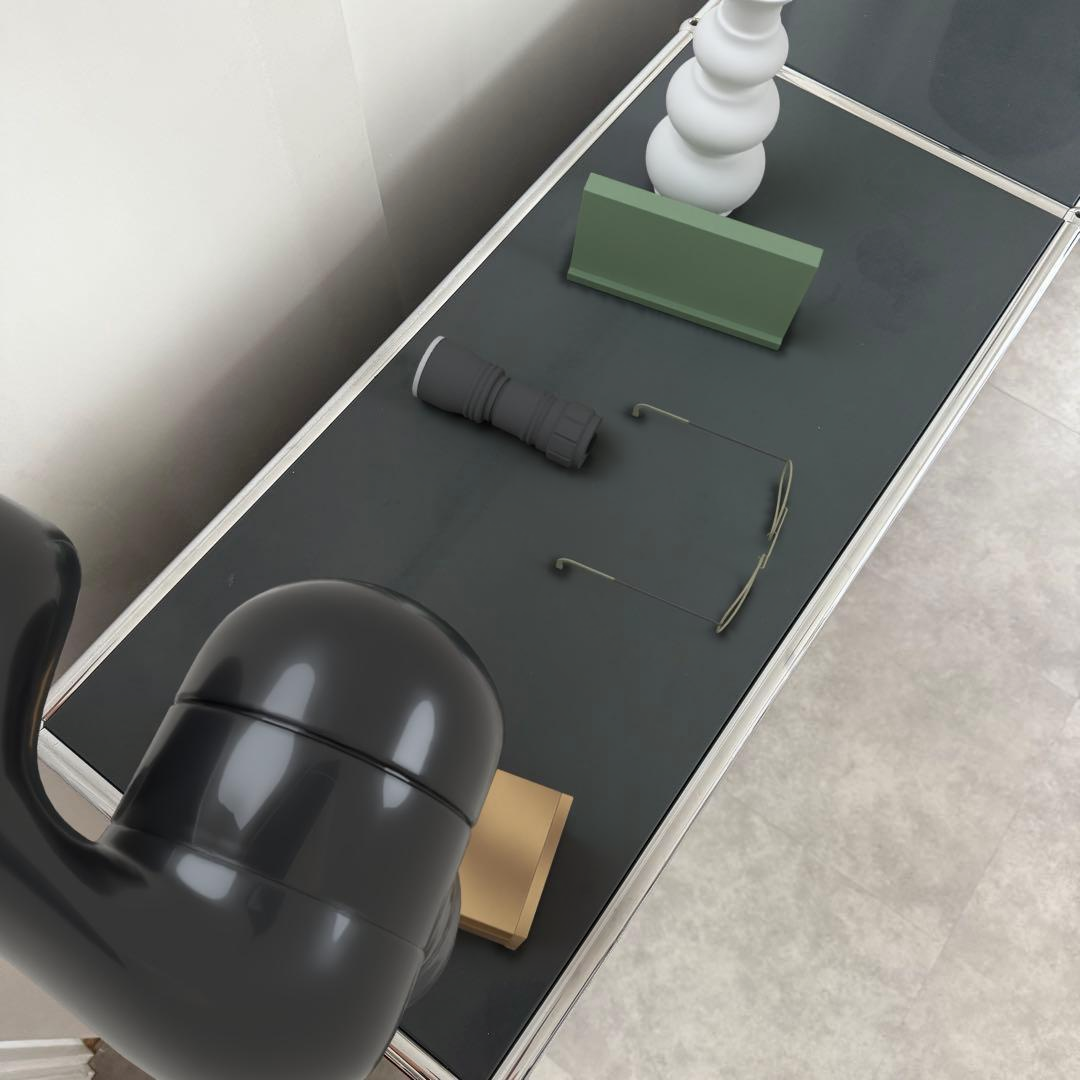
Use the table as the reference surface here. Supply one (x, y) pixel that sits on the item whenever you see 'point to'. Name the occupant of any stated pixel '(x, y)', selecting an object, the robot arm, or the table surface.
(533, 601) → the table surface
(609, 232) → the wall board
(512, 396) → the flashlight
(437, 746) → the robot arm
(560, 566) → the eyeglasses
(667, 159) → the vase
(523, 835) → the wooden drawer chest
